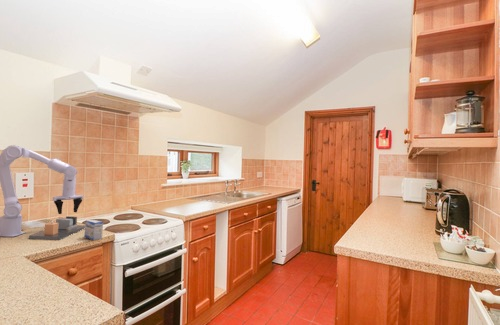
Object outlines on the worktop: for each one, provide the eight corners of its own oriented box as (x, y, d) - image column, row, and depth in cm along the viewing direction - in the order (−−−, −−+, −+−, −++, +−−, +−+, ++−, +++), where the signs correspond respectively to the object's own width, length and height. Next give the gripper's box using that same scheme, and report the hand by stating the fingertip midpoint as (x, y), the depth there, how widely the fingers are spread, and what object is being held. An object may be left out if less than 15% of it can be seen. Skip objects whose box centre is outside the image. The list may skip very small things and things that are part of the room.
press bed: (28, 238, 131) (29, 231, 131) (60, 227, 156) (61, 220, 156) (59, 240, 132) (59, 232, 132) (86, 228, 157) (86, 222, 157)
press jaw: (55, 228, 145) (56, 219, 145) (65, 225, 154) (65, 216, 154) (69, 229, 146) (69, 220, 146) (78, 225, 154) (78, 216, 154)
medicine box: (83, 237, 138) (85, 220, 138) (92, 235, 142) (93, 219, 142) (93, 240, 135) (94, 222, 135) (102, 238, 139) (103, 221, 139)
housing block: (44, 234, 135) (45, 222, 135) (49, 232, 139) (50, 220, 139) (52, 234, 135) (53, 222, 135) (58, 232, 139) (58, 220, 139)
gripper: (57, 189, 141) (56, 215, 141) (86, 188, 154) (85, 212, 153) (51, 188, 145) (49, 213, 145) (80, 186, 157) (78, 210, 157)
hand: (67, 213), depth 149 cm, fingers open, 7 cm apart
